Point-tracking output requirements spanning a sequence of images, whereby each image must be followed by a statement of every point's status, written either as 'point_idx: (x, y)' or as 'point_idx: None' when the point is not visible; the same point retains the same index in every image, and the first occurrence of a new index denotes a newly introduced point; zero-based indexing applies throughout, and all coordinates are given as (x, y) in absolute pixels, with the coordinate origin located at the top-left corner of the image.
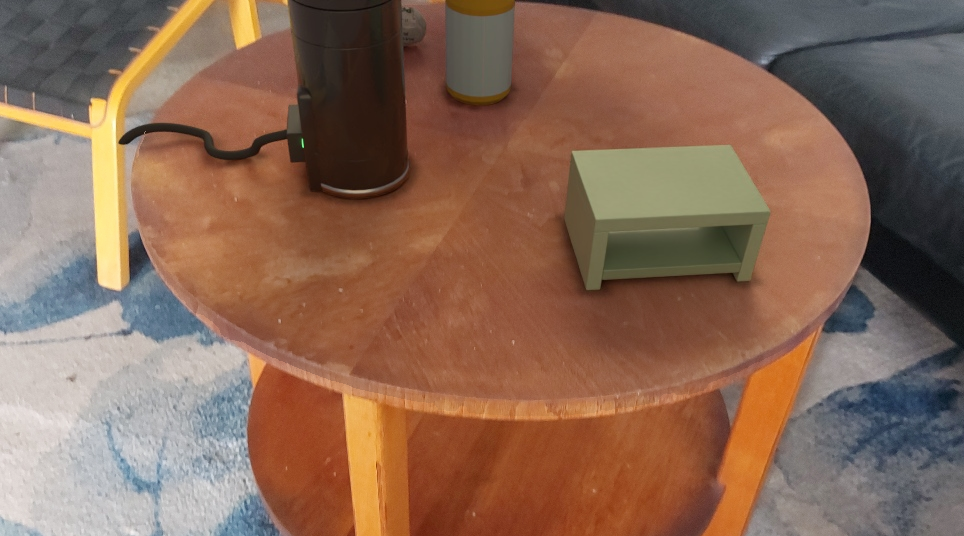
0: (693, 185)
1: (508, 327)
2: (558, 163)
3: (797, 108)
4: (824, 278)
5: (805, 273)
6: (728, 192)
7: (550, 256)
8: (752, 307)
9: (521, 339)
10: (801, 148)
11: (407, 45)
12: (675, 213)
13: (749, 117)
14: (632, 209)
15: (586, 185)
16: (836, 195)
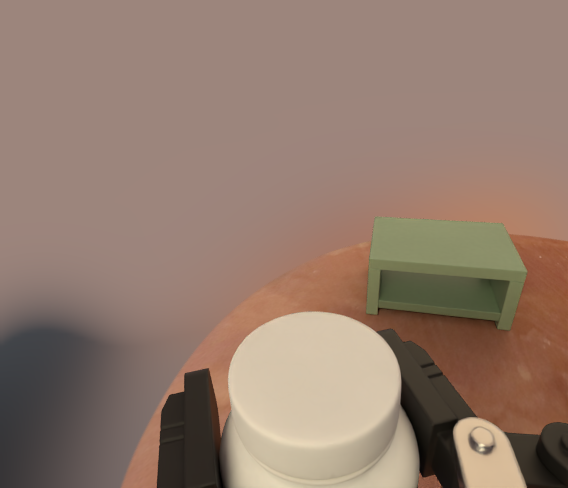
0: (420, 234)
1: (545, 264)
2: (521, 407)
3: (152, 439)
4: (322, 260)
5: (332, 264)
6: (396, 227)
7: (520, 301)
8: None
9: (535, 257)
10: (223, 367)
11: None
12: (442, 221)
13: None
14: (473, 226)
15: (510, 243)
16: (251, 310)
